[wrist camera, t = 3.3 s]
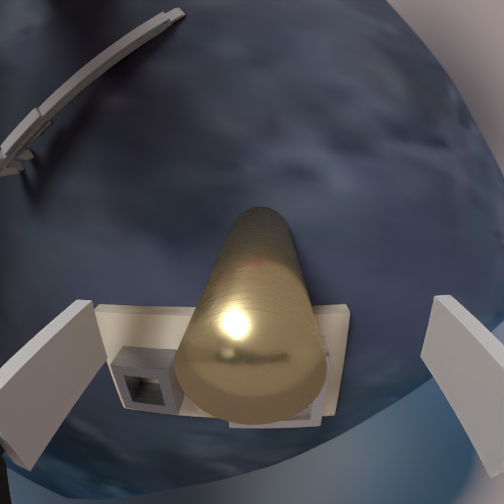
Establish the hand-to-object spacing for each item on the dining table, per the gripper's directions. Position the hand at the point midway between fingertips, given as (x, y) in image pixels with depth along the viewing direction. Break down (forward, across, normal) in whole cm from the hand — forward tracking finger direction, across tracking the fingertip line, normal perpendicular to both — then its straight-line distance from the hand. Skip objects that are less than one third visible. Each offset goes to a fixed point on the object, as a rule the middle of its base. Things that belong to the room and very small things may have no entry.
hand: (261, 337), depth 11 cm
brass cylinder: (+14, 0, 0) cm, 14 cm away
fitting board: (+14, -4, -12) cm, 18 cm away
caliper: (+14, -14, +13) cm, 24 cm away
